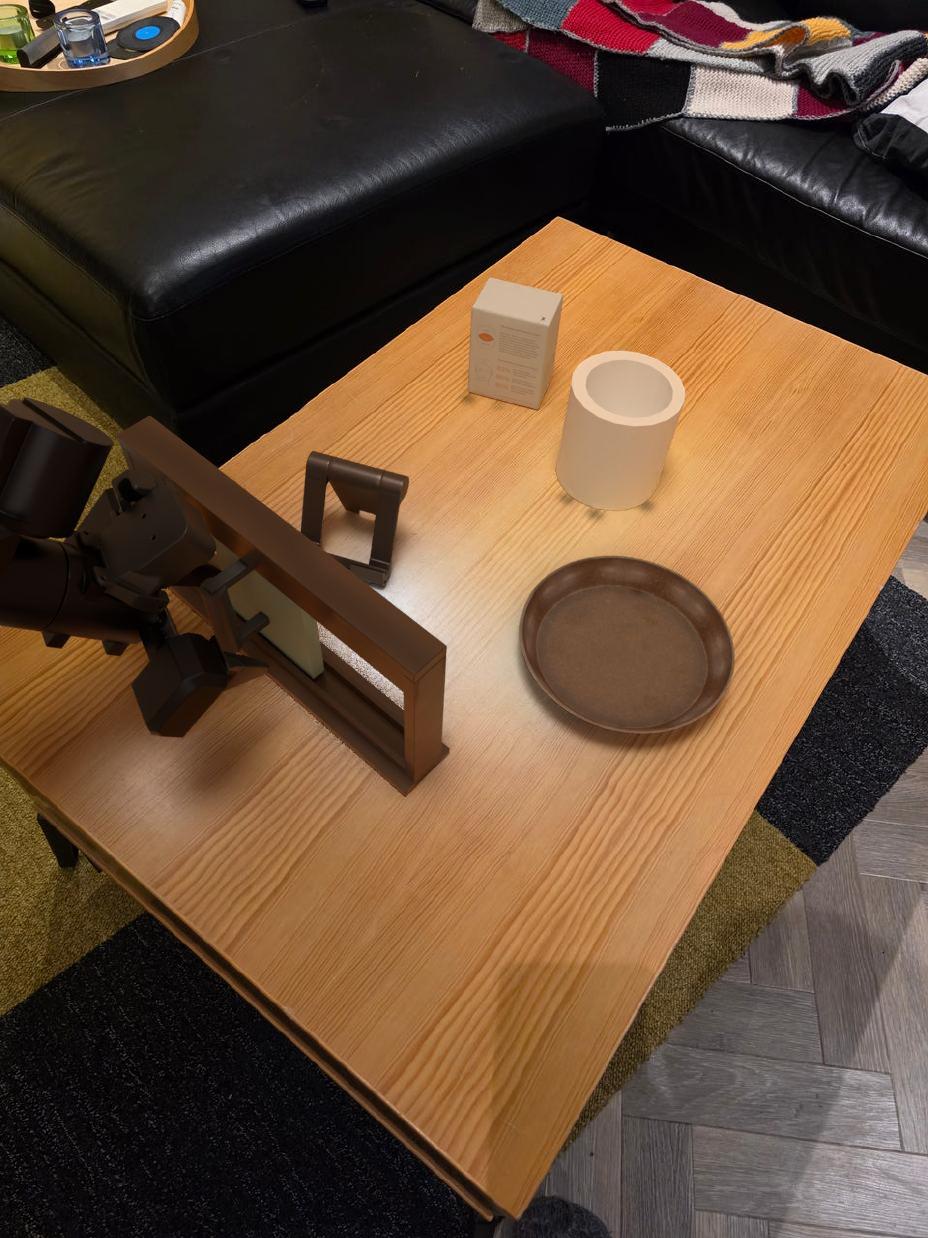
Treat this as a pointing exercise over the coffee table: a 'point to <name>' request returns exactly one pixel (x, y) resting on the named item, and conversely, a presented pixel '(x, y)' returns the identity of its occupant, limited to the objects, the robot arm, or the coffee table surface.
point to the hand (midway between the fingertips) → (244, 622)
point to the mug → (618, 429)
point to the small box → (513, 342)
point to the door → (258, 613)
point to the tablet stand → (355, 507)
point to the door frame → (316, 617)
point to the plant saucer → (626, 644)
